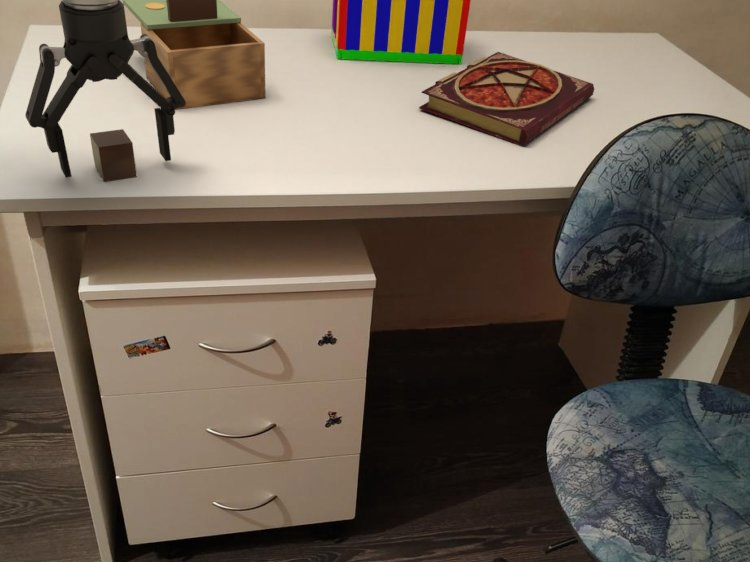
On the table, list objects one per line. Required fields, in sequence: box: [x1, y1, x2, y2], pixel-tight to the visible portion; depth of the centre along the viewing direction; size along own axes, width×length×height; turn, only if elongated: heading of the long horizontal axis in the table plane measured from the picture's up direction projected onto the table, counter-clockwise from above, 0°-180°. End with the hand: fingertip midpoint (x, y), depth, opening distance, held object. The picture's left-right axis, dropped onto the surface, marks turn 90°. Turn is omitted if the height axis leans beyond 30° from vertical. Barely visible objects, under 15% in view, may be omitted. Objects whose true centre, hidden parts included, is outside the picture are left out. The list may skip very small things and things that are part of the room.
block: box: [89, 128, 138, 183], centre depth 110 cm, size 4×4×5 cm
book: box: [418, 51, 595, 147], centre depth 141 cm, size 28×21×5 cm
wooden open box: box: [139, 22, 266, 110], centre depth 133 cm, size 16×14×9 cm
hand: (117, 164), depth 111 cm, fingers open, 13 cm apart
